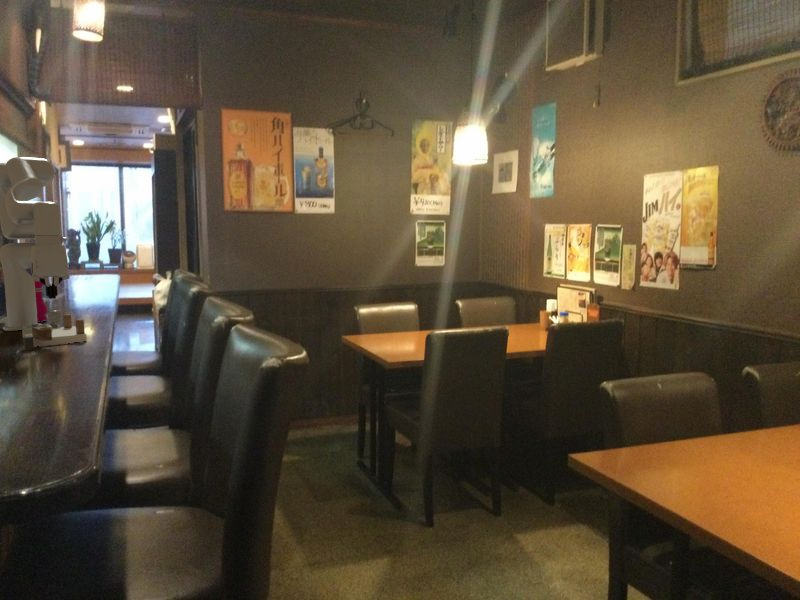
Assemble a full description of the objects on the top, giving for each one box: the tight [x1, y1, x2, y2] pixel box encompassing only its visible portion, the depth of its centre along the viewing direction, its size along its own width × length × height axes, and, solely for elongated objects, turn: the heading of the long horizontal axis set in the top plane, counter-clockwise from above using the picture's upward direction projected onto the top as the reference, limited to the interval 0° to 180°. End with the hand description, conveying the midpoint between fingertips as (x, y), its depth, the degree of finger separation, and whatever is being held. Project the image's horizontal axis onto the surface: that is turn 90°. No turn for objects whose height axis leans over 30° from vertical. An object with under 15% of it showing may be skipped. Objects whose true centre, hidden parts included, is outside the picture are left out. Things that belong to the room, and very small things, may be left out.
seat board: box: [21, 314, 87, 352], centre depth 208 cm, size 28×18×7 cm, turn 36°
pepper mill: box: [34, 277, 48, 321], centre depth 253 cm, size 7×7×20 cm
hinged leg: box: [32, 327, 52, 341], centre depth 197 cm, size 2×10×4 cm, turn 46°
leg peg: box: [47, 309, 63, 328], centre depth 224 cm, size 4×4×8 cm
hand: (52, 298), depth 206 cm, fingers closed
